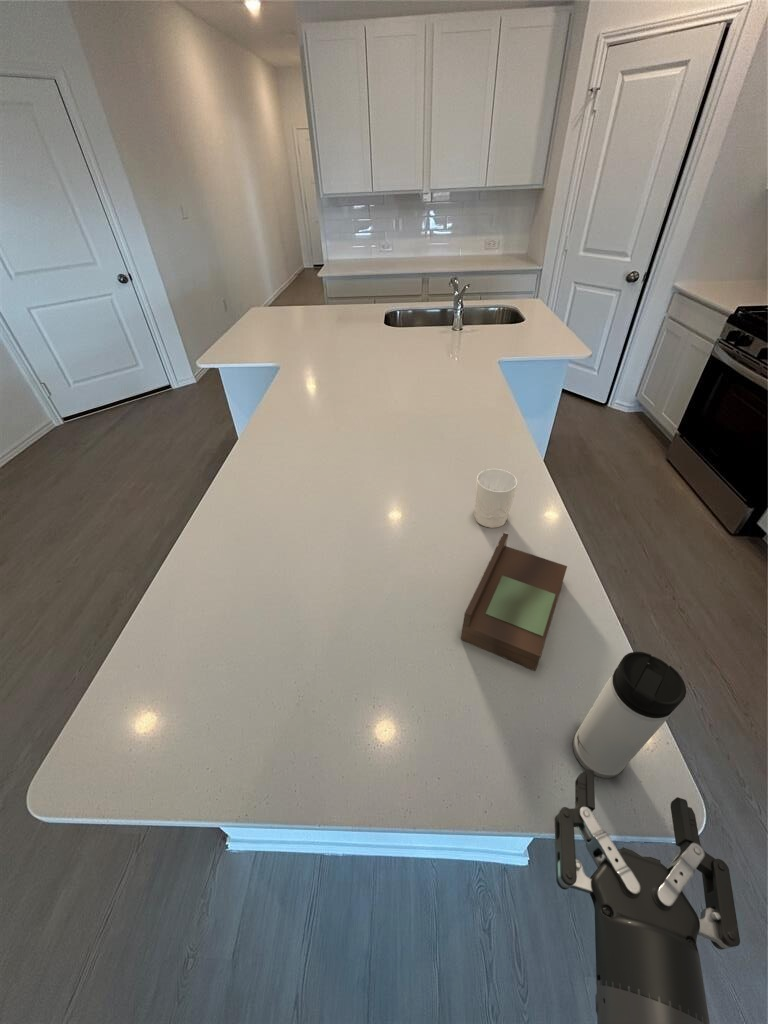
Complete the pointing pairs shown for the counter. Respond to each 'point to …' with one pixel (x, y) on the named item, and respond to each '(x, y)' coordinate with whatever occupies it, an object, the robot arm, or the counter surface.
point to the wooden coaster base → (514, 605)
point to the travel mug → (627, 713)
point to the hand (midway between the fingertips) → (631, 785)
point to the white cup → (494, 496)
